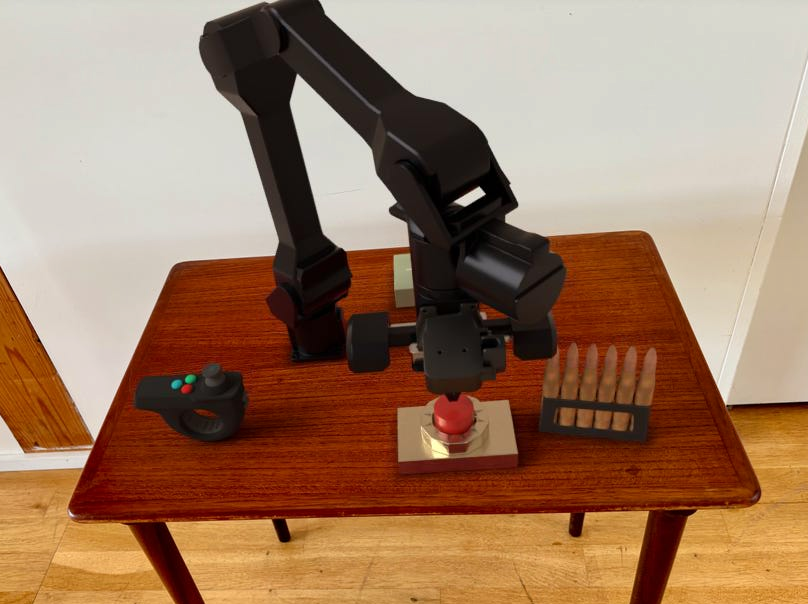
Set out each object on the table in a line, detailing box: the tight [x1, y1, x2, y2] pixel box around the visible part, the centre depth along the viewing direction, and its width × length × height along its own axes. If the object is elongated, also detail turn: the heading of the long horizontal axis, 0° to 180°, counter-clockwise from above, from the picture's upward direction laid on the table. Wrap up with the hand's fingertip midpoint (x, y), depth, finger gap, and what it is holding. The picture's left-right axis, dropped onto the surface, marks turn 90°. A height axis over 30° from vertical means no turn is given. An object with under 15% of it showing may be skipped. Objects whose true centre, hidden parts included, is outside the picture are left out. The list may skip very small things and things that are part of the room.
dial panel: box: [393, 253, 415, 309], centre depth 95 cm, size 12×9×3 cm
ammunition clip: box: [538, 341, 658, 442], centre depth 70 cm, size 11×2×12 cm, turn 76°
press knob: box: [434, 393, 474, 435], centre depth 72 cm, size 4×4×2 cm
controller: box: [133, 362, 250, 442], centre depth 78 cm, size 4×12×10 cm, turn 85°
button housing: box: [396, 394, 519, 476], centre depth 74 cm, size 12×8×4 cm, turn 89°
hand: (452, 398), depth 71 cm, fingers closed
